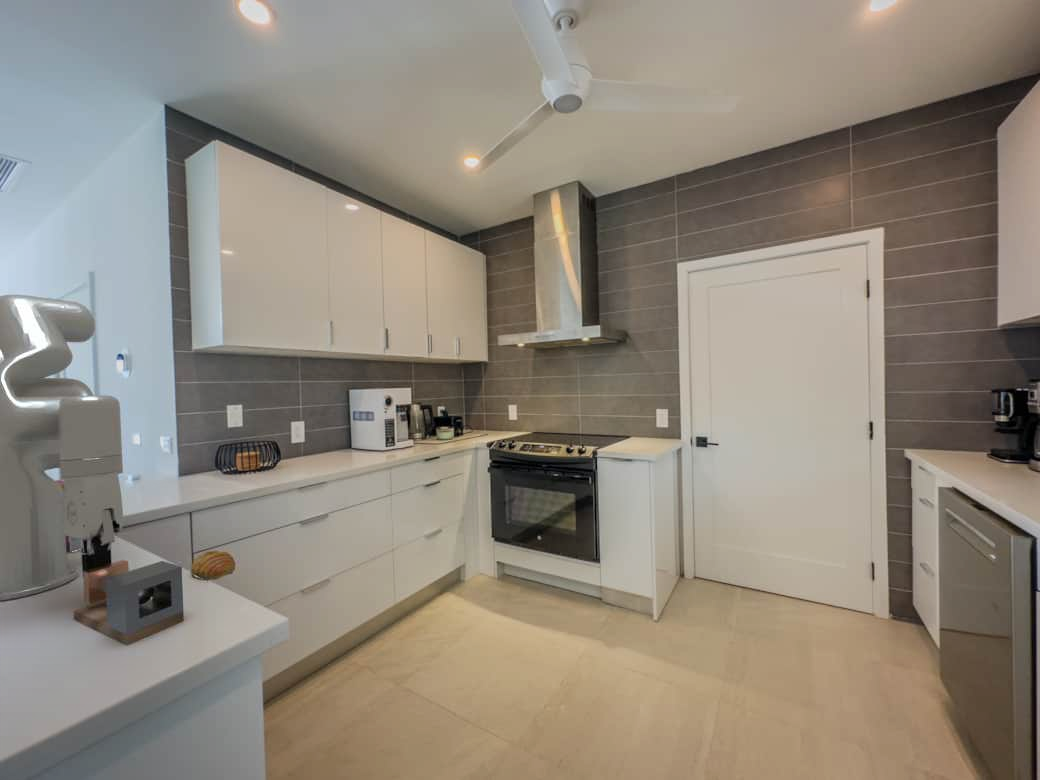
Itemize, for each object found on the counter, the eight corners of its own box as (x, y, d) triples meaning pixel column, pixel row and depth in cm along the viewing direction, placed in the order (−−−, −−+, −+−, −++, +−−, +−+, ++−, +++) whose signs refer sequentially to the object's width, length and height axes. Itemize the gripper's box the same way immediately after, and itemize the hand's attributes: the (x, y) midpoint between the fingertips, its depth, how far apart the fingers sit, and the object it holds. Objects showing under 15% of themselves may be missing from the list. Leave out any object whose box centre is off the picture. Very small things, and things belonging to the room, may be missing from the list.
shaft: (84, 602, 69) (83, 571, 69) (123, 588, 74) (122, 559, 74) (122, 618, 63) (120, 584, 63) (162, 602, 68) (161, 571, 68)
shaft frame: (73, 619, 69) (71, 566, 69) (128, 599, 75) (127, 551, 75) (127, 645, 61) (124, 585, 61) (183, 620, 67) (181, 566, 67)
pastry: (245, 572, 85) (244, 553, 85) (205, 586, 80) (204, 566, 80) (225, 563, 91) (224, 545, 91) (186, 575, 85) (185, 556, 85)
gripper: (43, 470, 73) (48, 578, 73) (81, 473, 66) (86, 592, 66) (101, 463, 80) (106, 561, 79) (141, 465, 73) (146, 573, 73)
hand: (97, 575), depth 73 cm, fingers closed
